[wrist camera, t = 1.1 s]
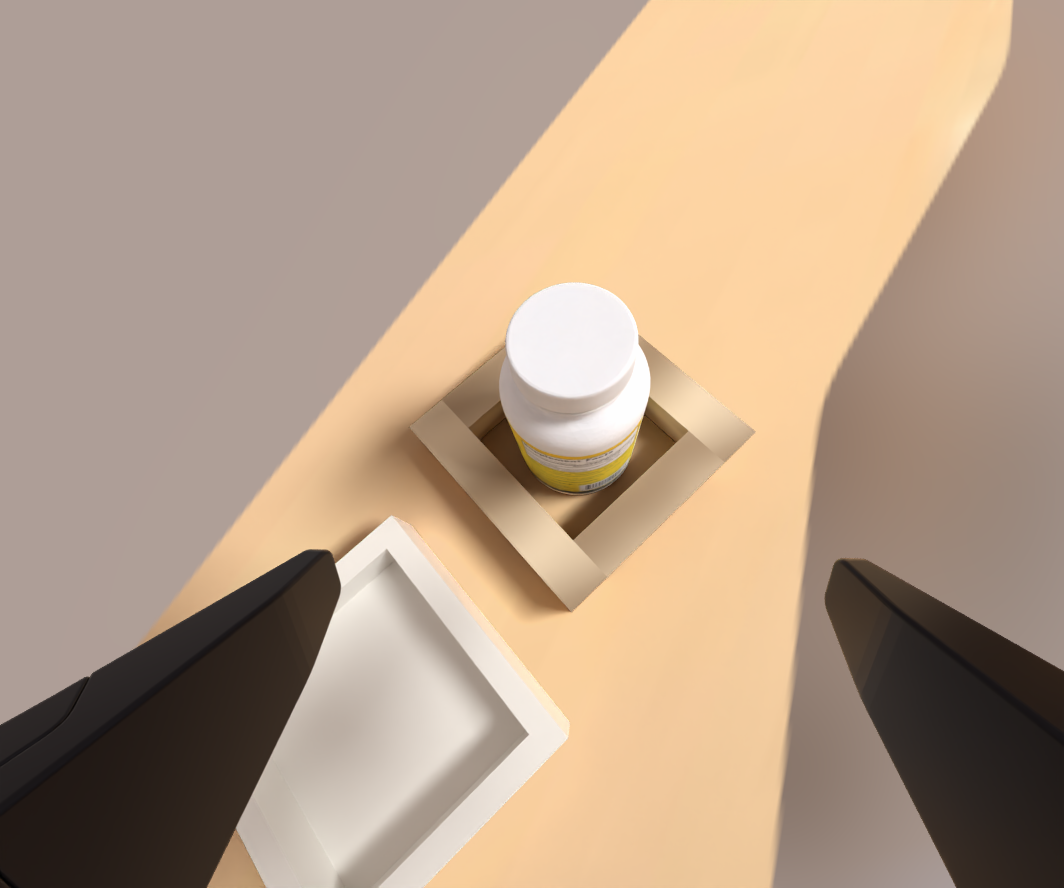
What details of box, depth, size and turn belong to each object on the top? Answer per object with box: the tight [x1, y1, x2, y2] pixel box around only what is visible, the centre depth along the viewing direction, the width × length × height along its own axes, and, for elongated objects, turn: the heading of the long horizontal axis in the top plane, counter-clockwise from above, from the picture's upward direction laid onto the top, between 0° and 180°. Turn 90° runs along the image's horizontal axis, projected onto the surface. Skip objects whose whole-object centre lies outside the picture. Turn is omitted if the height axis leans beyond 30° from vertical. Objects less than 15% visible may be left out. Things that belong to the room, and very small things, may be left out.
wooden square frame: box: [409, 334, 756, 612], centre depth 22 cm, size 11×11×2 cm
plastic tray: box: [236, 515, 570, 888], centre depth 19 cm, size 11×11×2 cm
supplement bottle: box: [499, 283, 650, 495], centre depth 19 cm, size 5×5×10 cm
